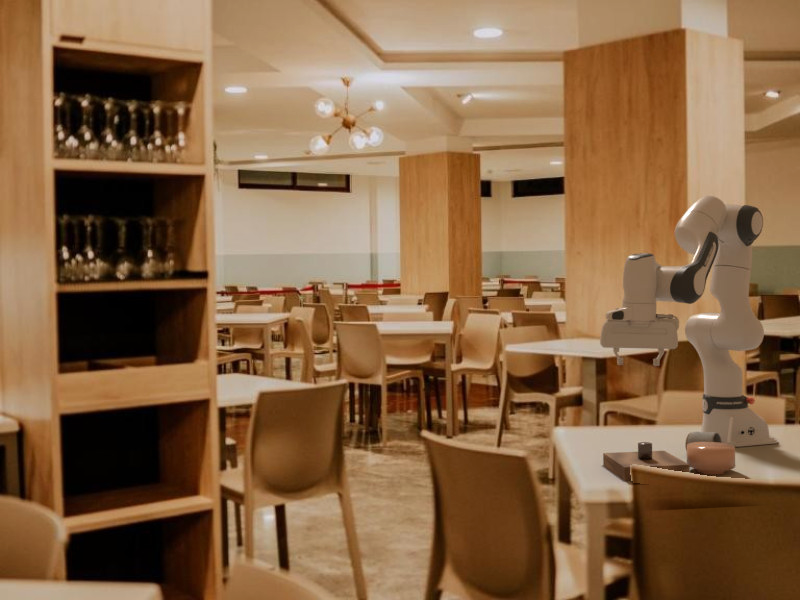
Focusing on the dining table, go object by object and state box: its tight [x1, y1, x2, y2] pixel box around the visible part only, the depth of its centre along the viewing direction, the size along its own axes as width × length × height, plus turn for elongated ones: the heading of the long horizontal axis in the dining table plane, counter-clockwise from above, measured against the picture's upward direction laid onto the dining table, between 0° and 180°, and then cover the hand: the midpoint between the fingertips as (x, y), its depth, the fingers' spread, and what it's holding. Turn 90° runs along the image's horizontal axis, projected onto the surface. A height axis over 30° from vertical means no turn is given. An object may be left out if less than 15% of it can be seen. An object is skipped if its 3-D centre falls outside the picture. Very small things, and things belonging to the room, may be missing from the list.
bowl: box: [686, 442, 736, 475], centre depth 243 cm, size 12×12×7 cm
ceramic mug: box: [685, 431, 722, 456], centre depth 259 cm, size 11×8×8 cm
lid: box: [602, 441, 691, 482], centre depth 243 cm, size 17×17×8 cm
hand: (638, 365), depth 249 cm, fingers open, 8 cm apart
